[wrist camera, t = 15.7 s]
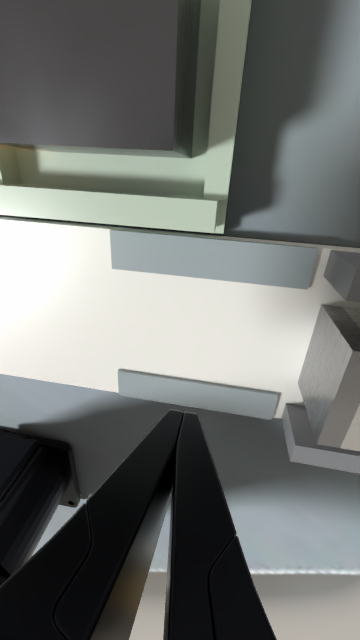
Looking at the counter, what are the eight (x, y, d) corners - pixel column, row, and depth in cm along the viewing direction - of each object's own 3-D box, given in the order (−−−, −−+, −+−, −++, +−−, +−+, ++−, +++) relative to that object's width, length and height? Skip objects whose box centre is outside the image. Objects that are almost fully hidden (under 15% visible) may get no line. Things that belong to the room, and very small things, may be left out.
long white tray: (446, 436, 14) (498, 499, 11) (2, 366, 17) (-43, 403, 14) (562, 266, 10) (684, 299, 7) (-41, 213, 13) (-113, 222, 10)
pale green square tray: (223, 231, 12) (222, 241, 10) (18, 213, 13) (-19, 219, 11) (267, -127, 7) (278, -226, 6) (-42, -107, 9) (-119, -185, 7)
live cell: (191, 158, 10) (173, 151, 7) (34, 150, 11) (-46, 140, 8) (201, -1, 8) (181, -107, 5) (10, 2, 9) (-106, -88, 6)
